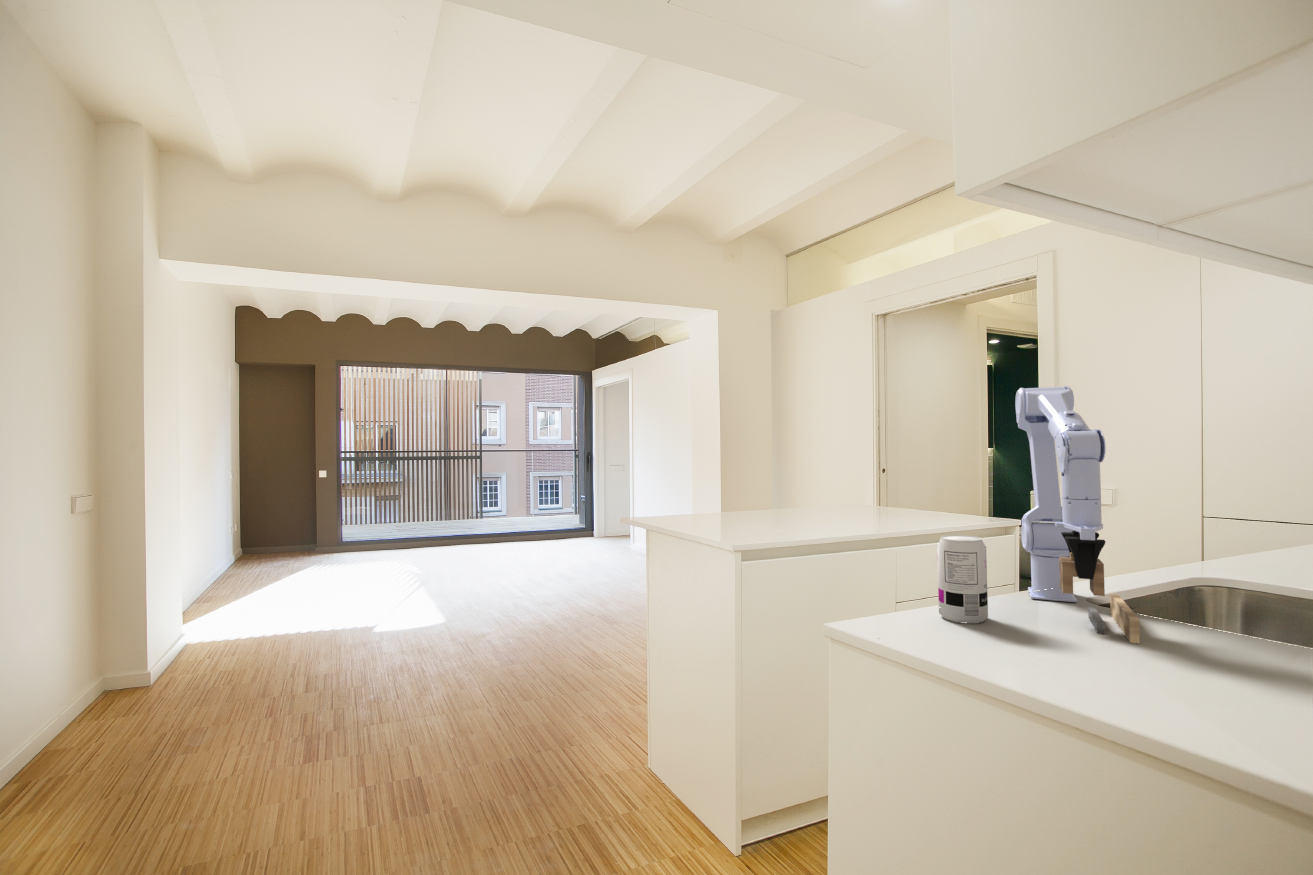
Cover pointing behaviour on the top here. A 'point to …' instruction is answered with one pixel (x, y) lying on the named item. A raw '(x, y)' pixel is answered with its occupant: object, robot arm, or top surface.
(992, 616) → the top surface
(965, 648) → the top surface
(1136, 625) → the cleat board
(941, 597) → the supplement can
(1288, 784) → the top surface
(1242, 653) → the top surface
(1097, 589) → the cabinet block
